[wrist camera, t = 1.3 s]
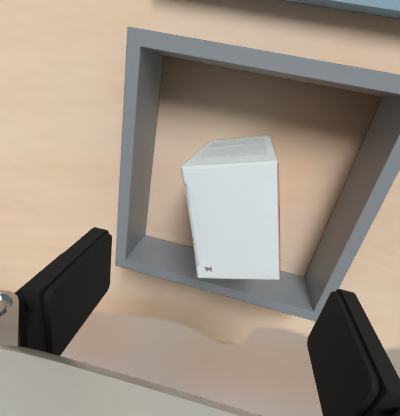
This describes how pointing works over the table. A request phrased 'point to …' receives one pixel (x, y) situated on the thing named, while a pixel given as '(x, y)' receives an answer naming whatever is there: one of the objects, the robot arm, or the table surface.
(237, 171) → the small box
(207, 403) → the robot arm
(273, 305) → the rectangular frame
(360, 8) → the board
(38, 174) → the table surface
